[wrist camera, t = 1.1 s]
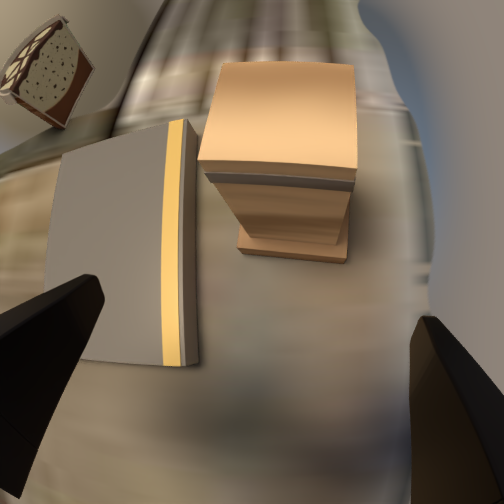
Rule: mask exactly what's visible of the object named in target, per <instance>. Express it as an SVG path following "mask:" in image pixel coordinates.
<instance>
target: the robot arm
mask: <svg viewBox="0 0 504 504" xmlns="http://www.w3.org/2000/svg"><path fill="white" fill-rule="evenodd" d="M104 304H105V295H104V293H103V290H102V287H101V284H100V281H99V279H98V277H97V276H96V275H92V274H83V275H81V276H78V277H76V278H74V279H72V280H70V281H68V282H66V283H63V284H61V285H59V286H57V287H55V288H53V289H51V290H49V291H47V292H45V293H42V294H40V295H38V296H36V297H34V298H32V299H30V300H28V301H26V302H24V303H22V304H20V305H18V306H16V307H14V308H12V309H10V310H8V311H6V312H4V313H2V314H0V488H1V489H3V490H4V491H6V492H8V493H9V494H11V495H13V496H14V497H16V498H18V499H20V497H21V495H22V492H23V489H24V486H25V484H26V481H27V478H28V475H29V472H30V470H31V467H32V464H33V462H34V459H35V457H36V454H37V452H38V449H39V446H40V444H41V441H42V439H43V436H44V434H45V432H46V429H47V427H48V425H49V422H50V420H51V418H52V416H53V413H54V411H55V409H56V407H57V405H58V402H59V400H60V398H61V396H62V394H63V392H64V390H65V387H66V385H67V383H68V381H69V379H70V377H71V375H72V373H73V371H74V369H75V367H76V365H77V363H78V361H79V359H80V357H81V355H82V353H83V352H84V350H85V348H86V346H87V343H88V341H89V339H90V337H91V334H92V332H93V329H94V327H95V325H96V322H97V320H98V318H99V315H100V313H101V311H102V308H103V306H104ZM409 405H410V422H411V450H412V479H411V504H504V395H503V394H502V393H501V391H500V390H499V389H498V388H497V386H496V385H495V384H494V383H493V381H492V380H491V379H490V378H489V376H488V375H487V374H486V373H485V372H484V370H483V369H482V368H481V367H480V365H479V364H478V363H477V362H476V361H475V360H474V359H473V357H472V356H471V355H470V354H469V353H468V351H467V350H466V349H465V348H464V347H463V346H462V344H461V343H460V342H459V341H458V340H457V339H456V338H455V337H454V335H452V333H451V332H450V331H449V330H448V329H447V328H446V327H445V326H444V324H443V323H442V322H441V321H440V320H439V319H438V318H437V317H435V316H425V315H423V316H421V317H420V318H419V320H418V323H417V325H416V328H415V330H414V333H413V335H412V337H411V341H410V384H409Z"/></svg>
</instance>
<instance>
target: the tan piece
mask: <svg viewBox="0 0 504 504" xmlns="http://www.w3.org/2000/svg"><path fill="white" fill-rule="evenodd" d="M197 160H198V162H199V163H200V165H201V166H202V167H203V169H204V174H205V175H206V177H207V178H208V180H209V181H210V182H211V183H213V184H214V185H215V187H216V188H217V190H218V191H219V193H220V194H221V196H222V197H223V198H224V200H225V201H226V203H227V204H228V206H229V207H230V209H231V210H232V212H233V213H234V215H235V216H236V218H237V219H238V221H239V222H240V229H239V236H238V242H237V248H238V249H239V250H240V252H241V253H242V254H251V255H261V256H271V257H281V258H291V259H301V260H311V261H321V262H331V263H341V264H344V262H345V260H346V257H347V243H348V227H349V206H350V194H351V192H353V189H354V185H355V175H356V171H357V119H356V95H355V78H354V65H344V64H332V63H317V62H286V61H266V62H236V63H223V65H222V69H221V72H220V75H219V79H218V82H217V86H216V90H215V93H214V97H213V100H212V104H211V108H210V111H209V115H208V119H207V123H206V127H205V131H204V135H203V139H202V143H201V147H200V151H199V155H198V159H197Z"/></svg>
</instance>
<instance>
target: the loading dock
mask: <svg viewBox="0 0 504 504" xmlns="http://www.w3.org/2000/svg"><path fill="white" fill-rule="evenodd" d="M196 160H197V134H196V132H195V131H194V129H193V127H192V126H191V124H190V122H189V121H188V119H181V120H176V121H172V122H169V123H167V124H162V125H158V126H154V127H150V128H146V129H142V130H139V131H135V132H131V133H128V134H124V135H121V136H117V137H114V138H110V139H107V140H104V141H101V142H97V143H94V144H91V145H88V146H85V147H82V148H79V149H76V150H73V151H70V152H68V153H65V154H63V155H62V159H61V164H60V168H59V173H58V178H57V183H56V188H55V193H54V199H53V205H52V211H51V218H50V225H49V233H48V242H47V251H46V262H45V276H44V293H45V292H47V291H49V290H51V289H53V288H55V287H57V286H59V285H61V284H63V283H66V282H68V281H70V280H72V279H74V278H76V277H78V276H81V275H83V274H92V275H96V276H97V277H98V279H99V281H100V284H101V287H102V290H103V293H104V295H105V304H104V306H103V308H102V311H101V313H100V315H99V318H98V320H97V322H96V325H95V327H94V329H93V332H92V334H91V337H90V339H89V341H88V343H87V346H86V348H85V350H84V352H83V353H82V355H81V357H80V359H87V360H96V361H106V362H117V363H130V364H145V365H163V366H188V365H192V364H195V363H199V356H198V334H197V306H196V255H195V211H196Z"/></svg>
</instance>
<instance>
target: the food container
mask: <svg viewBox="0 0 504 504" xmlns="http://www.w3.org/2000/svg"><path fill="white" fill-rule="evenodd" d="M67 23H69V21H68V20H67V19H65V18H64V17H63V16H60V15H59V14H57V15H55V16H53V17H52V18H50V19H48V20H47V21H46V22H44V23H43V24H41V25H40V26H39V27H37V28H36V29H35V30H34V31H33V32H31V33H30V34H29V35H28V36H27V37H26V38H25V39H24V40H23V41H22V42H21V43H20V44H19V46H18V47H17V48H16V49H15V50H14V51H13V53H12V54H11V55H10V57H9V58H8V59H7V61H6V62H5V64H4V66H3V67H2V69H1V71H0V96H1V97H2V99H3V100H4V101H5V103H6V104H9V105H13V104H16V103H18V104H20V105H21V106H22V107H24V108H26V109H27V110H29V111H30V112H32V113H33V114H35V115H36V116H38V117H40V118H41V119H43V120H44V121H46V122H47V123H49V124H50V125H52V126H54V127H55V128H57V129H66V127H67V124H68V122H69V120H70V118H71V116H72V113H73V111H74V109H75V107H76V105H77V103H78V101H79V99H80V97H81V95H82V93H83V91H84V89H85V87H86V85H87V83H88V81H89V79H90V78H91V76H92V74H93V72H94V70H95V67H94V66H93V64H92V63H91V61H90V60H89V58H88V57H87V55H86V54H85V52H84V51H83V50H82V48H81V47H80V45H79V43H78V42H77V40H76V39H75V37H74V36H73V34H72V33H71V31H70V30H69V29H68V27H67V25H66V24H67Z"/></svg>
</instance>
